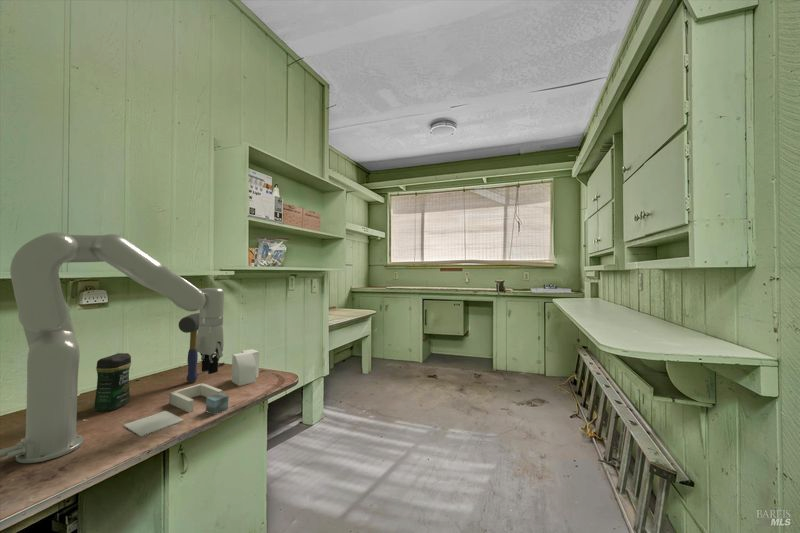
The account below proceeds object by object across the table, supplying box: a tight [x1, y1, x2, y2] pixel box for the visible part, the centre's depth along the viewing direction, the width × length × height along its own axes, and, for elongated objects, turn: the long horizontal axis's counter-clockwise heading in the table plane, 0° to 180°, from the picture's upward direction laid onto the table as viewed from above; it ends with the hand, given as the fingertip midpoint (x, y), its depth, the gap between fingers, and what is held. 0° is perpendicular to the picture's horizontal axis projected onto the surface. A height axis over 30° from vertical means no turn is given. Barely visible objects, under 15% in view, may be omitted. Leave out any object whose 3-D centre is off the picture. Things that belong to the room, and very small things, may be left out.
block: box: [205, 393, 229, 415], centre depth 115 cm, size 5×5×5 cm
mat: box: [123, 410, 185, 438], centre depth 104 cm, size 12×12×1 cm
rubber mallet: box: [178, 312, 200, 384], centre depth 141 cm, size 12×8×30 cm, turn 8°
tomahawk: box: [197, 362, 226, 377], centre depth 156 cm, size 21×7×1 cm, turn 166°
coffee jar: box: [93, 352, 132, 412], centre depth 116 cm, size 10×8×19 cm
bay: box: [168, 382, 223, 413], centre depth 121 cm, size 12×14×4 cm
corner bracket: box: [230, 348, 260, 387], centre depth 146 cm, size 11×11×12 cm
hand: (209, 371), depth 117 cm, fingers open, 3 cm apart
